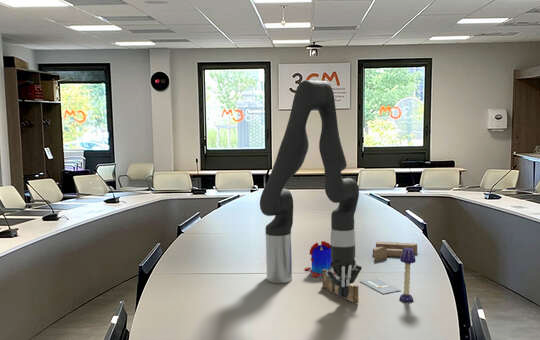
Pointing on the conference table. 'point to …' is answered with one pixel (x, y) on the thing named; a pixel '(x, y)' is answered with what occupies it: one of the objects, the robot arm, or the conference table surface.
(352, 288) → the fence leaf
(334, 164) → the robot arm
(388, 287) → the card
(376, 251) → the wooden block set
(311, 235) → the conference table surface
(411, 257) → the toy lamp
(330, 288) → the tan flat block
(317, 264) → the fantasy tower
